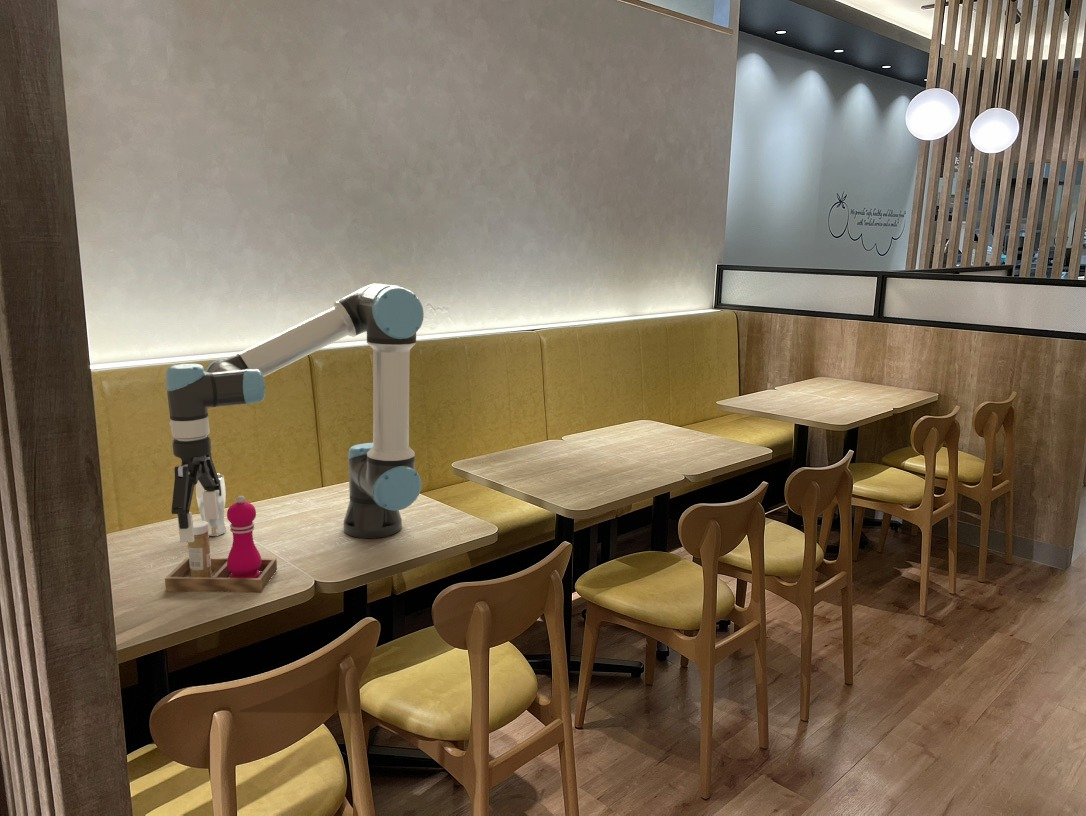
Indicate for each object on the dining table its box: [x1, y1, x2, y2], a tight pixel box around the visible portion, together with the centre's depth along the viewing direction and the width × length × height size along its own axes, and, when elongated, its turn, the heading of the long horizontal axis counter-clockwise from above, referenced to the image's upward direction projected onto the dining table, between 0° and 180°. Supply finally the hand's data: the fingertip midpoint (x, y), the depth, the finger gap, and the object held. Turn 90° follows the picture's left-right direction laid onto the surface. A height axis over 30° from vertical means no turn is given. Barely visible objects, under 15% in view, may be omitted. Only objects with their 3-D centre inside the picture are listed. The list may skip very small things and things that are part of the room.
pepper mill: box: [226, 495, 262, 578], centre depth 179 cm, size 7×7×20 cm
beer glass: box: [195, 473, 227, 537], centre depth 207 cm, size 7×7×15 cm
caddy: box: [164, 556, 278, 594], centre depth 181 cm, size 20×12×3 cm, turn 91°
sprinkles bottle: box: [187, 520, 213, 578], centre depth 179 cm, size 5×5×13 cm
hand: (200, 529), depth 179 cm, fingers open, 13 cm apart
